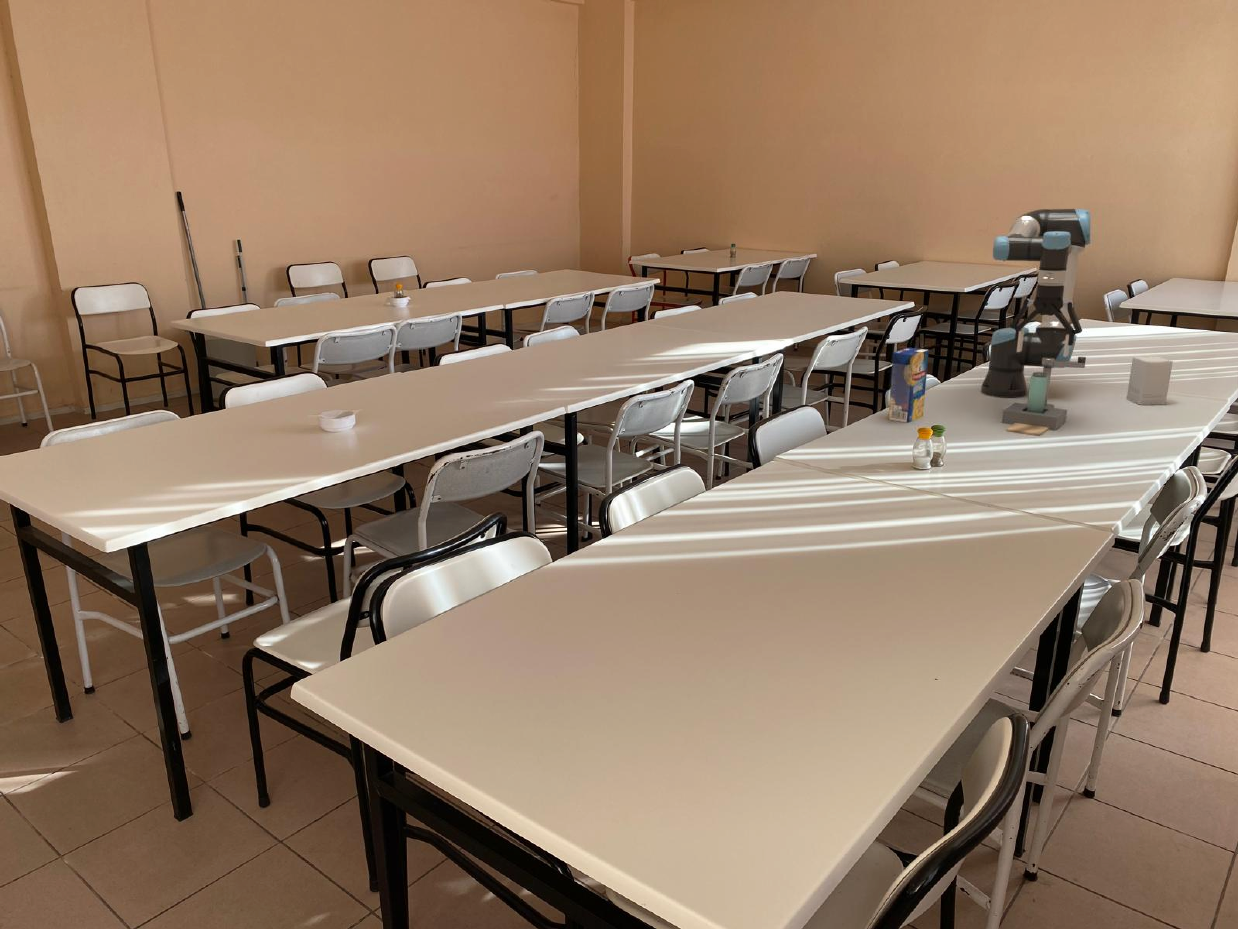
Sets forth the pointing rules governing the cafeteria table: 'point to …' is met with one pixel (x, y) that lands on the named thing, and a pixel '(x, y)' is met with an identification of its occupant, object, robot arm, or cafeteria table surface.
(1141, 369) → the supplement box
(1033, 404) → the plug
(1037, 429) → the cork mat
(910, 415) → the blue food box
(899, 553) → the cafeteria table surface
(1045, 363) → the clip
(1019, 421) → the socket block
